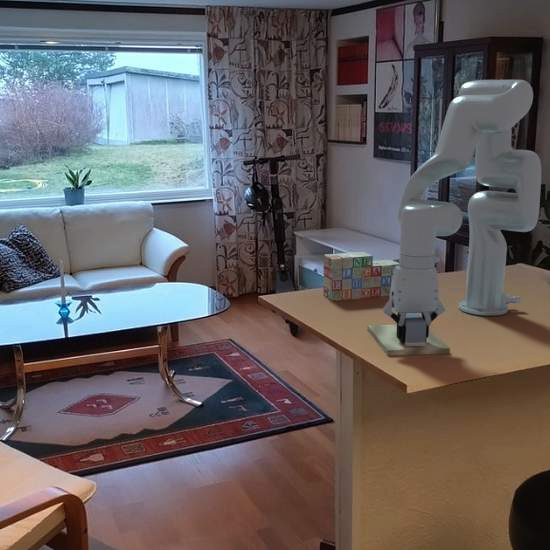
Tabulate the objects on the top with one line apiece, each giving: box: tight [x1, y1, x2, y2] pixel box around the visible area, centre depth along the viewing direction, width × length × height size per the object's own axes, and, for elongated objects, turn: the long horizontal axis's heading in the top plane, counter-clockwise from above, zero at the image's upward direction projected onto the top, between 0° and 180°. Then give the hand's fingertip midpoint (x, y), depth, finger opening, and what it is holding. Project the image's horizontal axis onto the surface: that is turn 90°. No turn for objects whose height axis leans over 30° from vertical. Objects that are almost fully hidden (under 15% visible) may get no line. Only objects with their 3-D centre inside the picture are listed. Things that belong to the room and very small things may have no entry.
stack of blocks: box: [323, 251, 399, 301], centre depth 201 cm, size 21×6×12 cm, turn 108°
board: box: [367, 323, 451, 357], centre depth 163 cm, size 14×18×1 cm
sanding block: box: [404, 313, 427, 346], centre depth 159 cm, size 4×8×6 cm, turn 7°
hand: (412, 340), depth 159 cm, fingers closed on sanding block, 4 cm apart
